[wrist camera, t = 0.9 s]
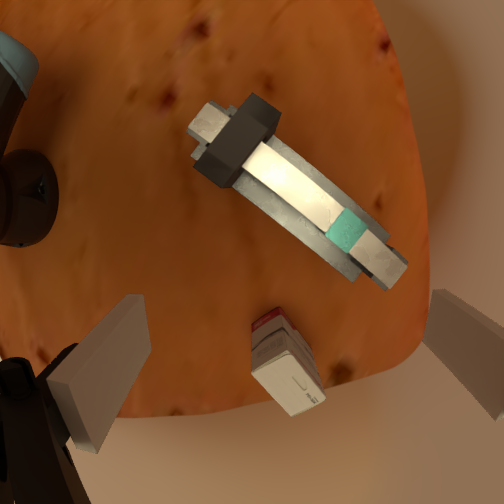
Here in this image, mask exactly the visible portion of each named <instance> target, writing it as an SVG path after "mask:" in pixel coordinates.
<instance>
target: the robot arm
mask: <svg viewBox="0 0 504 504" xmlns="http://www.w3.org/2000/svg"><path fill="white" fill-rule="evenodd" d="M38 68H39V64H38V60H37V58H36V56H35V55H34V54H33V53H32V52H31V51H30V50H29V49H28V48H27V47H25V46H24V45H23V44H21V43H20V42H19V41H17V40H16V39H14V38H12V37H11V36H9V35H8V34H6V33H4V32H2V31H0V245H6V246H12V247H18V248H21V247H27V246H30V245H33V244H36V243H38V242H39V241H41V240H42V239H43V238H44V237H45V236H46V235H47V234H48V232H49V231H50V229H51V227H52V225H53V223H54V220H55V217H56V213H57V207H58V185H57V180H56V176H55V173H54V170H53V168H52V166H51V164H50V163H49V161H48V160H47V159H46V157H45V156H44V155H42V154H41V153H39V152H37V151H35V150H28V149H18V150H14V151H12V152H10V153H8V154H6V155H4V156H3V154H4V151H5V148H6V145H7V143H8V140H9V137H10V135H11V132H12V130H13V127H14V125H15V122H16V120H17V118H18V115H19V113H20V111H21V108H22V106H23V104H24V102H25V100H27V98H28V92H29V90H30V88H31V85H32V83H33V81H34V79H35V77H36V75H37V72H38ZM422 341H423V343H424V344H425V345H426V346H427V347H428V348H429V349H430V350H431V351H432V352H433V353H434V354H435V355H436V356H437V357H438V358H439V359H440V360H441V361H442V363H443V364H445V366H446V367H447V368H448V369H449V370H450V371H451V372H452V373H453V374H454V375H455V376H456V377H457V379H458V380H459V381H460V382H461V383H462V384H463V385H464V386H465V387H466V388H467V390H468V391H469V392H470V393H471V394H472V395H473V396H474V397H475V398H476V400H477V401H478V402H479V403H480V404H481V405H482V407H483V408H484V409H485V410H486V411H487V412H488V413H489V415H490V416H491V417H492V418H493V419H494V420H495V421H498V420H500V419H502V418H504V328H503V327H502V326H500V325H499V324H497V323H496V322H494V321H493V320H492V319H490V318H488V317H487V316H485V315H484V314H483V313H481V312H480V311H478V310H477V309H475V308H474V307H472V306H471V305H469V304H467V303H466V302H464V301H463V300H461V299H459V298H458V297H457V296H455V295H453V294H452V293H450V292H449V291H447V290H446V289H438V290H433V292H432V298H431V303H430V308H429V313H428V318H427V323H426V327H425V332H424V336H423V340H422ZM150 352H151V344H150V338H149V331H148V324H147V317H146V309H145V301H144V295H141V294H127V295H126V296H125V297H124V298H123V299H122V300H121V301H120V302H119V303H118V304H117V305H116V306H115V307H114V308H113V309H112V310H111V311H110V312H109V313H108V314H107V315H106V316H105V317H104V318H103V319H102V320H101V321H100V322H99V323H98V324H97V325H96V326H95V327H94V328H93V329H92V330H91V331H90V333H89V334H88V335H87V336H86V337H85V338H84V339H83V340H82V341H81V342H80V343H74V344H72V345H70V346H68V347H67V348H65V349H63V350H62V351H61V352H60V354H59V355H58V356H57V358H55V359H54V360H53V361H52V362H51V364H49V365H48V366H47V367H46V368H45V369H44V370H43V371H42V372H41V373H40V374H39V375H38V376H37V377H36V378H35V375H34V372H33V369H32V367H31V364H30V362H29V360H27V359H25V358H21V357H12V358H8V359H5V360H2V361H1V362H0V504H14V501H15V504H91V502H90V500H89V498H88V496H87V494H86V491H85V489H84V487H83V485H82V482H81V480H80V478H79V475H78V473H77V470H76V468H75V466H74V463H73V460H72V458H71V455H70V452H69V450H68V448H67V446H66V442H67V441H68V439H69V437H70V436H71V438H72V440H73V442H74V444H75V446H76V448H78V449H81V450H84V451H88V452H92V453H96V454H98V452H99V450H100V447H101V445H102V444H103V442H104V440H105V438H106V436H107V434H108V432H109V430H110V428H111V425H112V424H113V422H114V420H115V418H116V416H117V414H118V412H119V410H120V408H121V406H122V404H123V402H124V401H125V399H126V397H127V395H128V393H129V391H130V389H131V387H132V385H133V383H134V382H135V380H136V378H137V376H138V374H139V372H140V370H141V368H142V367H143V365H144V363H145V361H146V359H147V357H148V356H149V354H150Z"/></svg>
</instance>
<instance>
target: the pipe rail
mask: <svg viewBox="0 0 504 504" xmlns="http://www.w3.org/2000/svg"><path fill="white" fill-rule="evenodd" d="M237 110H238V109H237V108H235V107H234V106H232V105H230V106H229V107H228V109H227V110H226V109H224V108H223V107H221V106H220V105H218V104H217V103H215V102H214V101H212V100H211V101H210V102H209V103H206V105H205V106H204V107H203V108H202V110H201V111H200V112H199V113H198V115H197V116H196V117H195V118H194V120H193V121H192V122H191V123H190V125H189V126H188V130H187V131H186V133H188V134H189V135H191V136H192V137H193V138H195V139H196V140H198V141H199V142H200V144H199V145H198V146H197V148H196V149H195V150H194V152H193V153H192V154H191V156H192V157H193V158H194V159H196V160H198V159H199V158H200V156H201V155H202V154H203V152H204V151H205V150H206V149H207V147H208V146H209V145H210V143H211V142H212V141H213V140H214V138H215V137H216V136H217V135H218V133H219V132H220V131H221V130H222V128H223V127H224V126H225V125H226V123H227V122H228V121H229V120H230V118H231V117H232V116H233V115H234V114H235V112H236V111H237ZM241 167H242V168H244V169H245V170H244V172H243V173H242V174H241V175H240V177H239V178H238V179H237V181H236V182H235V183H234V184H233V186H232V187H233V188H234V189H236V190H237V191H238V192H240V193H241V194H242V195H243V196H245V197H246V198H247V199H249V200H250V201H251V202H253V203H254V204H255V205H256V206H258V207H259V208H260V209H262V210H263V211H264V212H265V213H267V214H268V215H269V216H271V217H272V218H273V219H274V220H276V221H277V222H278V223H280V224H281V225H282V226H283V227H285V228H286V229H287V230H288V231H290V232H291V233H292V234H293V235H295V236H296V237H297V238H298V239H300V240H301V241H302V242H303V243H305V244H306V245H307V246H308V247H310V248H311V249H312V250H313V251H315V252H316V253H317V254H318V255H319V256H321V257H322V258H323V259H324V260H326V261H327V262H328V263H329V264H330V265H332V266H333V267H334V268H335V269H337V270H338V271H339V272H340V273H341V274H343V275H344V276H345V277H346V278H347V279H349V280H350V281H351V282H352V283H353V282H354V281H355V279H356V278H357V277H358V276H359V275H360V273H361V272H362V271H363V272H364V273H365V274H366V275H367V276H369V277H370V278H371V279H372V280H373V281H374V282H375V283H377V284H378V285H379V286H380V287H381V288H382V289H383V290H385V291H386V290H387V289H388V288H389V289H391V287H392V286H393V285H394V284H395V282H396V281H397V280H398V279H399V277H400V276H401V275H402V274H403V272H404V271H405V270H406V269H407V266H406V265H407V263H408V261H407V260H406V259H405V258H404V257H403V256H402V255H401V254H400V253H399V252H398V251H396V250H395V249H394V248H392V247H390V246H388V245H386V244H384V243H385V242H386V241H387V240H388V238H389V237H390V236H391V235H390V234H389V233H387V232H386V231H385V230H384V229H383V228H382V227H381V226H380V225H379V224H378V223H377V222H376V221H375V220H374V219H373V218H372V217H371V216H369V215H368V214H367V213H366V212H365V211H364V210H363V209H362V208H361V207H360V206H359V205H357V204H356V203H355V202H354V201H353V200H352V199H351V198H350V197H348V196H347V195H346V194H345V193H344V192H343V191H342V190H340V189H339V188H338V187H337V186H336V185H335V184H334V183H332V182H331V181H330V180H329V179H328V178H326V177H325V176H324V175H323V174H322V173H320V172H319V171H318V170H317V169H316V168H314V167H313V166H312V165H311V164H310V163H308V162H307V161H306V160H305V159H303V158H302V157H301V156H300V155H298V154H297V153H296V152H295V151H293V150H292V149H291V148H289V147H288V146H287V145H286V144H284V143H283V142H282V141H280V140H279V139H278V138H277V137H275V136H274V135H272V137H271V138H270V139H269V140H268V142H267V143H266V144H265V143H263V142H262V141H261V143H260V144H259V145H258V146H257V148H256V149H255V150H254V151H253V153H252V154H251V155H250V156H249V158H248V159H247V160H246V161H245V163H244V164H243V165H242V166H241Z"/></svg>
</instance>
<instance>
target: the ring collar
mask: <svg viewBox="0 0 504 504" xmlns="http://www.w3.org/2000/svg"><path fill="white" fill-rule="evenodd" d="M280 116H281V112H279V111H278V110H277V109H275V108H274V107H273V106H271V105H270V104H268V103H267V102H266V101H264V100H263V99H261V98H260V97H259V96H257V95H256V94H254V93H253V92H252V93H251V95H250V96H249V97H248V98H247V99H246V100H245V102H244V103H243V104H242V105H241V106H240V108H239V109H238V110H237V111H236V112H235V114H234V115H233V116H232V117H231V118H230V120H229V121H228V122H227V123H226V125H225V126H224V127H223V128H222V130H221V131H220V132H219V133H218V135H217V136H216V137H215V138H214V140H213V141H212V142H211V143H210V145H209V146H208V147H207V149H206V150H205V151H204V152H203V154H202V155H201V156H200V158H199V159H198V160H197V162H196V163H195V164H194V166H193V167H194V168H195V169H196V170H198V171H199V172H200V173H202V174H203V175H204V176H206V177H207V178H208V179H210V180H211V181H212V182H214V183H215V184H216V185H218V186H219V187H220V188H230V187H232V186H233V184H234V183H235V182H236V181H237V179H238V178H239V177H240V175H241V174H242V173H243V172H244V170H245V169H244V168H242V167H241V166H242V165H243V164H244V163H245V161H246V160H247V159H248V158H249V156H250V155H251V154H252V153H253V151H254V150H255V149H256V148H257V146H258V145H259V144H260V143H261V141H262V142H263V143H265V144H266V143H267V142H268V140H269V139H270V138H271V137H272V135H273V134H274V133H275V131H276V128H277V125H278V122H279V119H280Z"/></svg>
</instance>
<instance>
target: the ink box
mask: <svg viewBox="0 0 504 504" xmlns="http://www.w3.org/2000/svg"><path fill="white" fill-rule="evenodd" d="M251 374H252V375H253V376H254V377H255V378H256V379H257V381H258V382H259V383H260V384H261V385H262V386H263V387H264V388H265V389H266V390H267V392H268V393H269V394H270V395H271V396H272V397H273V398H274V399H275V400H276V401H277V402H278V403H279V404H280V405H281V406H282V408H284V410H285V411H286V412H287V413H288V414H289V415H290V416H291V417H293V416H296V415H298V414H300V413H302V412H304V411H306V410H308V409H310V408H312V407H314V406H316V405H318V404H319V403H321V402H323V401H325V400H326V395H325V392H324V389H323V386H322V383H321V380H320V376H319V373H318V370H317V367H316V364H315V360H314V357H313V354H312V350H311V348H310V347H309V345H308V344H307V343H306V341H305V340H304V339H303V337H302V336H301V335H300V333H299V332H298V331H297V329H296V328H295V327H294V325H293V324H292V323H291V321H290V320H289V318H288V317H287V316H286V314H285V313H284V312H283V310H282V309H281V308H280V307H278V308H276V309H274V310H273V311H271V312H269V313H268V314H266V315H264V316H263V317H261V318H260V319H259V320H257V321H256V322H254V323H253V324H252V350H251Z"/></svg>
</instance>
